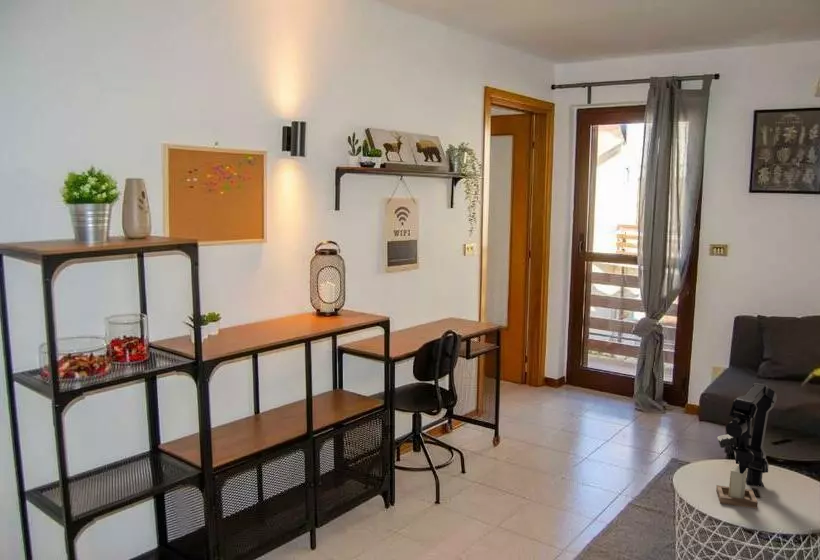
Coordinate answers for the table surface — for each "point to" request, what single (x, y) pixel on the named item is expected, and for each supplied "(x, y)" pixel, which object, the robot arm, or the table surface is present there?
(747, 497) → the walnut holder
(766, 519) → the table surface
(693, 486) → the table surface
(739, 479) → the skincare box
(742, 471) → the robot arm
